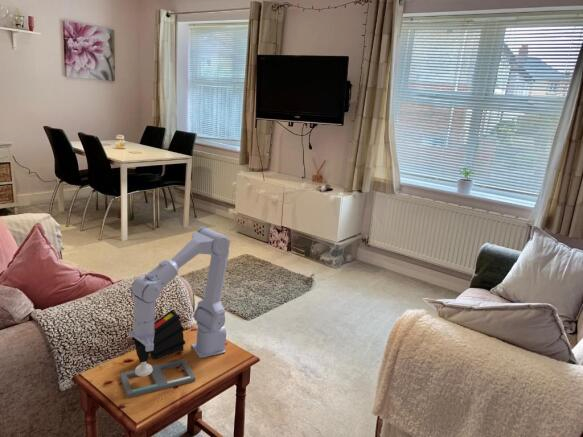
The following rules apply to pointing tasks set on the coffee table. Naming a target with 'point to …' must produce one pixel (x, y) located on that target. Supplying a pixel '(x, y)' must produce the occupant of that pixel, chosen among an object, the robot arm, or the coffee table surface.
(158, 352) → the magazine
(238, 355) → the coffee table surface
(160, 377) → the port panel
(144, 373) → the chess piece
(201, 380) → the coffee table surface
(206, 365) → the coffee table surface
